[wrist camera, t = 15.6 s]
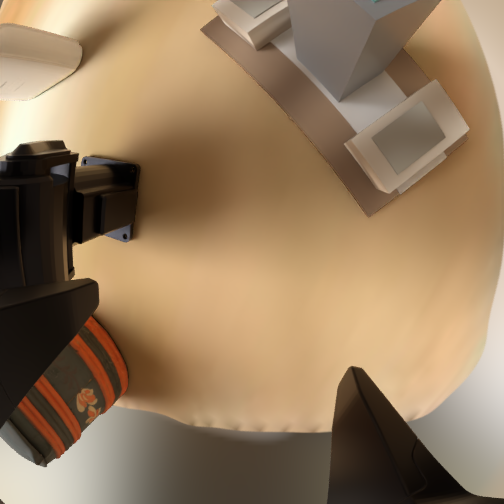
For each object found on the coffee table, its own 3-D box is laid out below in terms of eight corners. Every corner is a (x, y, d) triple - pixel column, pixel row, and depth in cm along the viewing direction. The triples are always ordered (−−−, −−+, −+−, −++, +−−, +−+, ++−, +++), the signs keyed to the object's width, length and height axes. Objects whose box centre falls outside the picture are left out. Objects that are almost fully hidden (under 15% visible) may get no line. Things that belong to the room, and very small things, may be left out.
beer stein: (51, 367, 33) (-22, 437, 14) (20, 285, 29) (-79, 348, 10) (143, 406, 29) (65, 520, 11) (111, 308, 25) (-32, 435, 6)
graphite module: (338, 102, 15) (376, 19, 5) (296, 58, 14) (275, -53, 4) (382, 72, 14) (453, -14, 3) (341, 30, 13) (361, -81, 3)
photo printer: (27, 105, 20) (-57, 108, 9) (30, 74, 19) (-50, 69, 7) (82, 72, 18) (-23, 54, 7) (86, 37, 17) (-8, 10, 5)
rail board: (463, 139, 14) (493, 136, 10) (366, 215, 18) (380, 228, 14) (302, -30, 12) (298, -60, 8) (203, 33, 16) (181, 10, 12)
